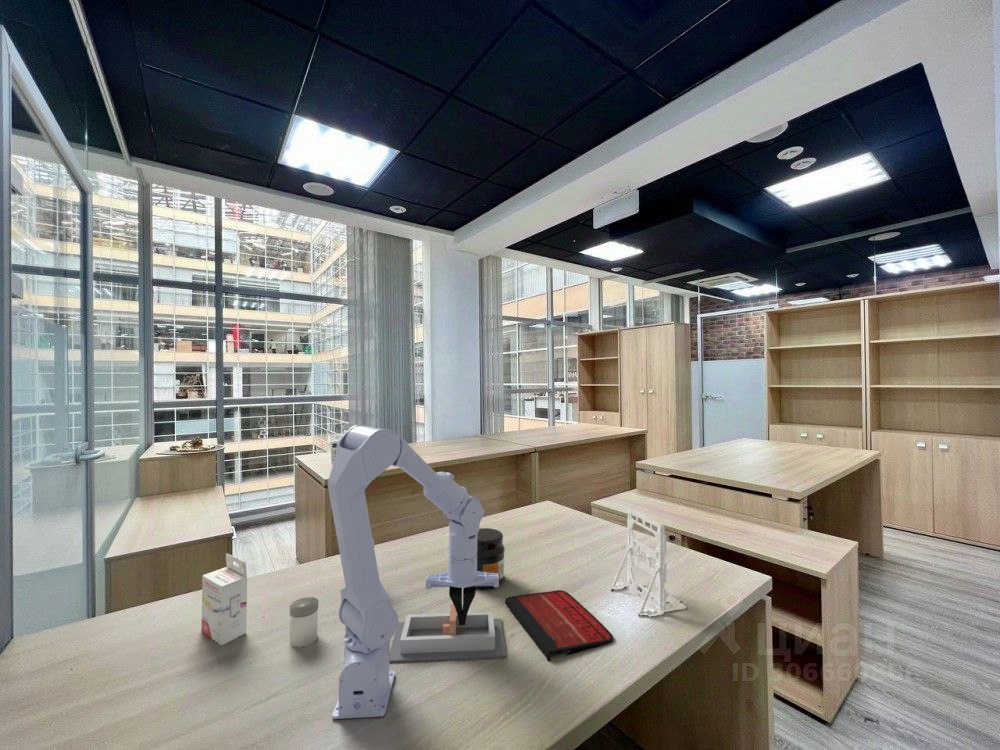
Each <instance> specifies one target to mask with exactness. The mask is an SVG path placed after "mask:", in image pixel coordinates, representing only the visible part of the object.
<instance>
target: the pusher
mask: <svg viewBox="0 0 1000 750" xmlns="http://www.w3.org/2000/svg"><path fill="white" fill-rule="evenodd" d="M449 613H450V624H443V635H456V620H457V612H456V609H455V606H454V604H453V603H450V611H449Z"/></svg>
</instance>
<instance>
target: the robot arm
mask: <svg viewBox="0 0 1000 750" xmlns="http://www.w3.org/2000/svg"><path fill="white" fill-rule="evenodd" d="M391 466H393V467H398V468H399V469H401V470H402V471H403V472H404V473H406V474H407V475H409V477H411V478H412V479H413V480H415V481H416V482H418V483H419V484H420V485H422V486H423V490H422V491H423V495H424V497H425V498H426V499H427V500H428V501H430V502H431V503H432V504H434V505H435V506H436V507H437V508H438V509H440V510H441V511H442V514H443V516H444V518H445V519H449V520H448V571H447V572H441V573H435V574H427V575H426V579H425V590H431V589H432V588H448V589H449V593H448V595H449V597H450V600H451V602H452V604H454V606H455V609H456V612H457V616H458V620H459V625H465V623H466V617H467V613H469V610H470V607H471V605H472V602H473V601H474V598H475V597H476V593H477V591H476V589H477V588H476V586H493V587H494V588H499V587H500V585H499V575H498V573H486V572H479V571H477V533H478V531H479V529H480V524H481V522H482V519H483V517H484V514H485V509H484V508H483V505H482V504H481V501H480V499H478V498H477V497H474V496H473V495H469V493H468V489H467V488H466V487H464V486H460V485H459V484H458V483H457V482H456V480H454V478H455V475H454V474H452V473H450V472H447V471H446V472H445V471H438V472H437V471H435V470H434V469H433V468H432V467H431V466H430V465H429V464H428V463H427V462H426V461H425V460H424V459H423V457H421V456H420V454H419V453H417V452H416V451H415V449H413V448H412V447H411V446H410V444H409V443H408V442H407V440H406V439H404V438H402V437H400V436H399V435H398V434H396V432H395V431H393V430H391V429H389V428H378V427H374V426H373V427H372V426H369V425H366V424H355V425H353V426H351V427H349V429H348V430H347V431H346V432H345V433H343V435H341V437H340V439H339V440H338V441H337V442H336V455H335V459H334V461H333V465H332V468H331V471H330V474H329V477H328V479H327V490H328V495H329V501H330V506H331V513H332V519H333V524H334V529H335V533H336V539H337V545H338V550H339V555H340V562H341V567H342V573H343V578H344V586H343V587H342V588H340V597H341V599H340V605H339V607H338V608H339V609H338V618H339V621H340V623H342V624H343V625H344V626H345V633H344V651H343V652H344V656H343V657H344V659H343V660H344V661H343V666H342V669H341V672H340V674H339V676H338V677H339V678H338V699H337V702H336V704H335V706H334V709H333V711H332V713H331V718H332V719H333V720H338V719H340V720H341V719H342V720H343V719H355V718H357V719H358V718H359V719H361V718H374V717H375V718H376V717H377V718H378V717H379V718H380V717H384V716H385V714H386V711H387V707H388V703H389V700H390V695H391V692H392V688H393V682H394V679H395V676H396V671H394V670H390V663H389V659H390V649H391V646H390V644H391V639H392V638H393V636H395V632H396V629H397V625H398V622H399V617H398V612H397V611H396V610H395V609H394V607H392V605H391V602H390V597H389V594H388V593H387V591H386V589H385V588H384V585H383V583H382V582H381V580H380V575H379V568H378V563H377V557H376V551H375V550H376V549H375V543H374V544H373V540H374V539H373V533H372V528H371V527H372V526H371V521H370V515H369V509H368V504H367V498H366V497H367V496H366V492H365V490H366V489H367V487H368V486H369V485H370V483H371V482H372V481H374V480H375V479H376V478H377V477H378V476H380V475H381V474H382V473H384V472H385V471H386V470H387V469H388V468H390V467H391Z"/></svg>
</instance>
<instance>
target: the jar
mask: <svg viewBox="0 0 1000 750" xmlns="http://www.w3.org/2000/svg"><path fill="white" fill-rule="evenodd" d="M318 611H319V599H318V598H316V597H313V596H307V597H302V598H299V599H296V600H294V601H293V602H292V603H290V605H289V645H290V647H293V648H302V647H303V646H304V647H307V646H309V645H311V644H313V643H314V642H315V641H316V640H317V639H318V623H319V622H318V621H319V620H318V617H319V616H318V615H319V614H318Z"/></svg>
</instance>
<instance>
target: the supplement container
mask: <svg viewBox="0 0 1000 750" xmlns="http://www.w3.org/2000/svg"><path fill="white" fill-rule="evenodd" d="M505 550H506V548H505V545H504V535H503V533H502V531H500V530H498V529H494V528H489V527H488V528H487V527H484V528H483V527H479V531H478V533H477V571H479V572H486V573H498V575H499V586H500V585H501V584H502V583H503V582H504V579H505ZM489 588H490V589H494V588H493V586H476V589H480V590H489Z"/></svg>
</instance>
